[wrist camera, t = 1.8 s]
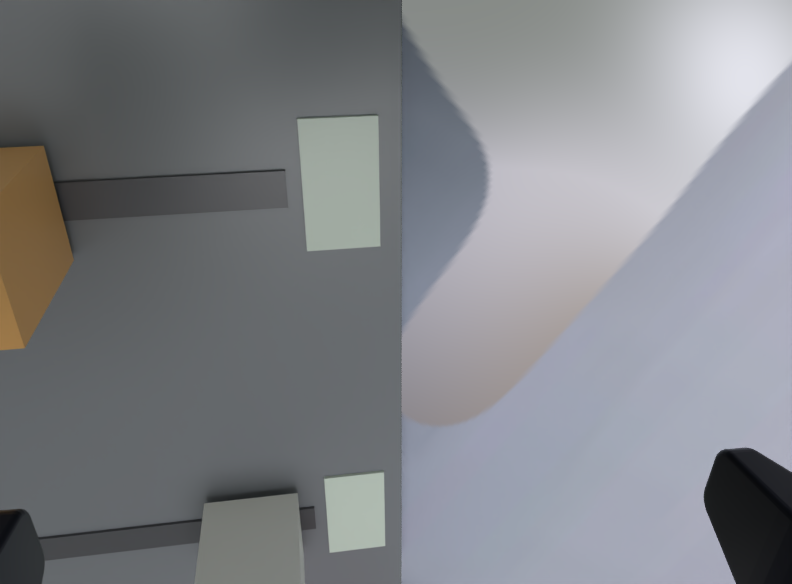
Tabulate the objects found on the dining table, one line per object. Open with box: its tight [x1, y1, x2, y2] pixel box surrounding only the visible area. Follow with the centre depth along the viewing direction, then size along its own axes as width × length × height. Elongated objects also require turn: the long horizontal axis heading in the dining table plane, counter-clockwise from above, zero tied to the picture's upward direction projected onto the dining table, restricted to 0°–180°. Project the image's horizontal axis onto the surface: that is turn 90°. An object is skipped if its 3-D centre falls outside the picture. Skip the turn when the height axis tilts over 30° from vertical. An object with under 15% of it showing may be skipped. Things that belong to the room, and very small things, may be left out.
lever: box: [194, 493, 305, 584], centre depth 22 cm, size 3×3×4 cm
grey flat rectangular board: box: [0, 0, 402, 584], centre depth 21 cm, size 20×24×3 cm
